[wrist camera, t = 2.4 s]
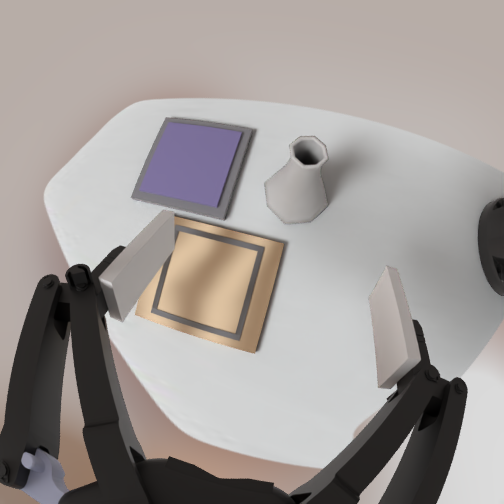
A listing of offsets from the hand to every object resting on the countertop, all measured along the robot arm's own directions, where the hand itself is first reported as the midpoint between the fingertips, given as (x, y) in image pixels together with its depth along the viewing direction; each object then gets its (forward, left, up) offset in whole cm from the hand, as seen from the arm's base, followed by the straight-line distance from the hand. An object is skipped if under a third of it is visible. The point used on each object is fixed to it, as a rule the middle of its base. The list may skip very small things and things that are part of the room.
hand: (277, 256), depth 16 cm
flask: (-1, -9, -14) cm, 17 cm away
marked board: (+6, +3, -13) cm, 15 cm away
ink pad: (+12, -10, -13) cm, 21 cm away
